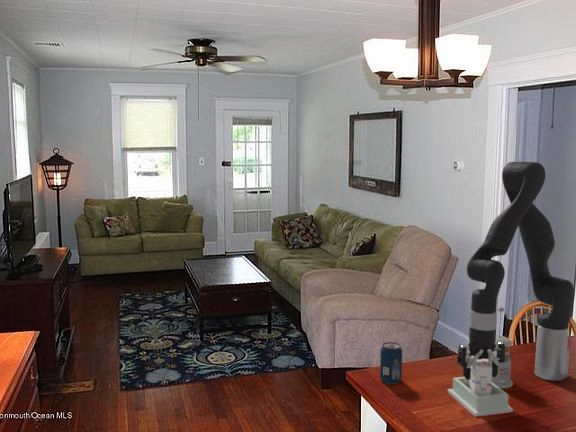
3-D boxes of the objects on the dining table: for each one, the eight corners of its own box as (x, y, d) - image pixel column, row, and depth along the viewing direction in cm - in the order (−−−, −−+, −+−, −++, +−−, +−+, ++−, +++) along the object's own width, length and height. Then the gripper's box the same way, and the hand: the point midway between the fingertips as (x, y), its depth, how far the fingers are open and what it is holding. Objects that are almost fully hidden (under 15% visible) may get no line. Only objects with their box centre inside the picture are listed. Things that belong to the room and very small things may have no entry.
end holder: (482, 388, 183) (483, 373, 183) (512, 412, 168) (513, 395, 167) (447, 392, 181) (448, 376, 180) (475, 416, 165) (475, 399, 165)
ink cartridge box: (467, 391, 179) (469, 346, 177) (483, 392, 178) (486, 346, 176) (473, 404, 170) (476, 356, 168) (491, 405, 170) (493, 357, 168)
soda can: (386, 374, 194) (387, 339, 192) (405, 379, 190) (406, 344, 188) (375, 381, 189) (376, 345, 187) (394, 387, 185) (395, 350, 183)
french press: (475, 382, 188) (479, 307, 184) (491, 371, 197) (494, 299, 193) (505, 391, 181) (510, 313, 178) (520, 379, 190) (524, 305, 186)
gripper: (497, 319, 176) (494, 370, 178) (454, 322, 173) (452, 374, 175) (511, 327, 169) (509, 380, 171) (467, 331, 166) (465, 385, 168)
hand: (480, 377), depth 173 cm, fingers open, 8 cm apart
